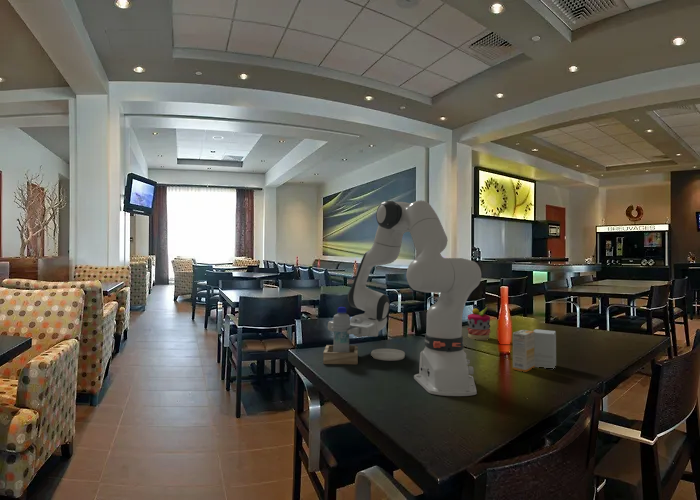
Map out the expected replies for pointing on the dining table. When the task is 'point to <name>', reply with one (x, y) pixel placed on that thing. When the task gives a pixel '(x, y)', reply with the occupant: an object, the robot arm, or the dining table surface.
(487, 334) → the cake
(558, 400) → the dining table surface
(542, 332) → the supplement box
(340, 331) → the bottle
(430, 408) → the dining table surface
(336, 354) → the box
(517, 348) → the supplement box
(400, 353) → the ceramic plate
